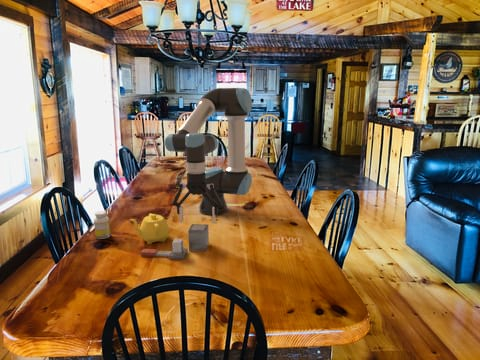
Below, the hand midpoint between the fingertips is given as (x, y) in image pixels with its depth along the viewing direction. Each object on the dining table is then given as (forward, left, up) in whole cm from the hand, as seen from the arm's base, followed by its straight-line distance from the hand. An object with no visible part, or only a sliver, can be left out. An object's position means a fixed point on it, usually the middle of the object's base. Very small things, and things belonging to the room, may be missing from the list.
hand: (197, 222), depth 156 cm
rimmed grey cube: (0, 0, -12) cm, 12 cm away
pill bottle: (-9, -46, -12) cm, 48 cm away
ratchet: (+8, -13, -12) cm, 19 cm away
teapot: (-6, -23, -12) cm, 27 cm away
